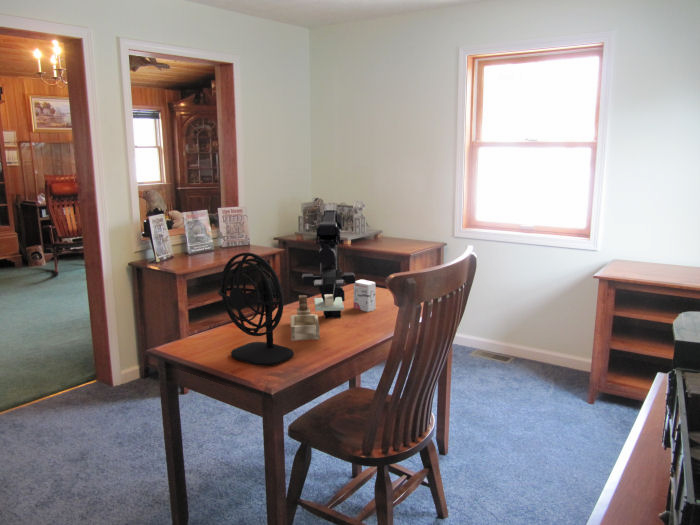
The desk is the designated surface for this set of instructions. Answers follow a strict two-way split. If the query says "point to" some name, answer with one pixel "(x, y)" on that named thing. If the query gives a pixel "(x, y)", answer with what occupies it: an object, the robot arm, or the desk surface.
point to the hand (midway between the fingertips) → (328, 301)
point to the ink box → (364, 295)
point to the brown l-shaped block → (303, 302)
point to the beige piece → (304, 325)
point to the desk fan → (266, 292)
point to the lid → (328, 303)
